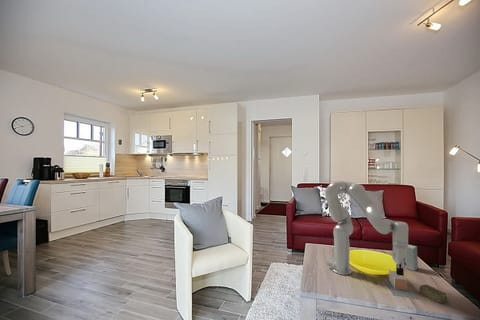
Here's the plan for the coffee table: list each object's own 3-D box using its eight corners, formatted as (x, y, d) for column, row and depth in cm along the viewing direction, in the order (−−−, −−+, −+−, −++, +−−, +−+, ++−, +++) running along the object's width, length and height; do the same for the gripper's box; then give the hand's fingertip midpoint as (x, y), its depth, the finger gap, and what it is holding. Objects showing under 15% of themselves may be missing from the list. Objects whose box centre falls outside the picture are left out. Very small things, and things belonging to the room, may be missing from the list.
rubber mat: (393, 295, 129) (393, 295, 129) (383, 278, 148) (383, 278, 148) (419, 300, 125) (419, 299, 125) (405, 282, 144) (405, 281, 144)
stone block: (441, 305, 121) (440, 295, 121) (418, 293, 132) (418, 284, 132) (448, 303, 123) (448, 293, 123) (425, 291, 134) (425, 283, 134)
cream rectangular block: (395, 278, 135) (389, 270, 146) (394, 288, 135) (389, 279, 146) (407, 280, 134) (400, 271, 144) (407, 290, 134) (400, 281, 144)
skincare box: (418, 269, 162) (418, 246, 163) (414, 271, 158) (414, 248, 159) (404, 264, 169) (404, 242, 170) (399, 267, 165) (400, 244, 166)
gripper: (388, 238, 145) (388, 268, 145) (397, 246, 131) (396, 279, 130) (403, 240, 143) (402, 270, 142) (412, 248, 128) (412, 282, 128)
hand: (399, 274), depth 136 cm, fingers closed
